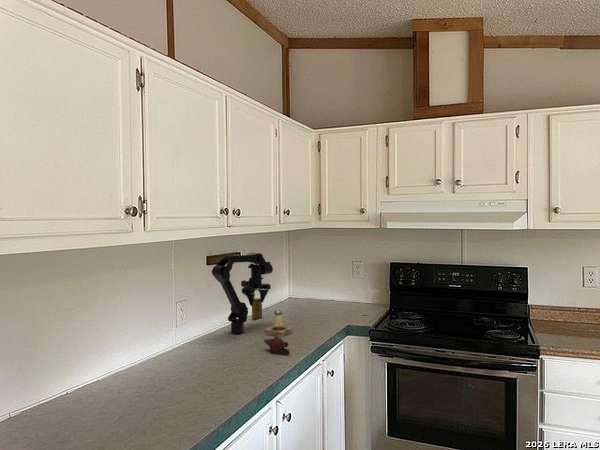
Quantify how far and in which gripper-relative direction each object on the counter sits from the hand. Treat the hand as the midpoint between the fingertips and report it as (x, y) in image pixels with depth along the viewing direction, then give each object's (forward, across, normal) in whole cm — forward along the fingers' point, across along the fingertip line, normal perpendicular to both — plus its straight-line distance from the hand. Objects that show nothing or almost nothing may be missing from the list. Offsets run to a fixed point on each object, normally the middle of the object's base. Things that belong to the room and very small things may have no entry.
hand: (256, 304), depth 232 cm
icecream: (+13, +28, +33) cm, 45 cm away
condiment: (+13, -16, -12) cm, 24 cm away
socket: (+13, +5, +18) cm, 23 cm away
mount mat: (+13, -1, +10) cm, 16 cm away
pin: (+13, +5, +18) cm, 23 cm away
